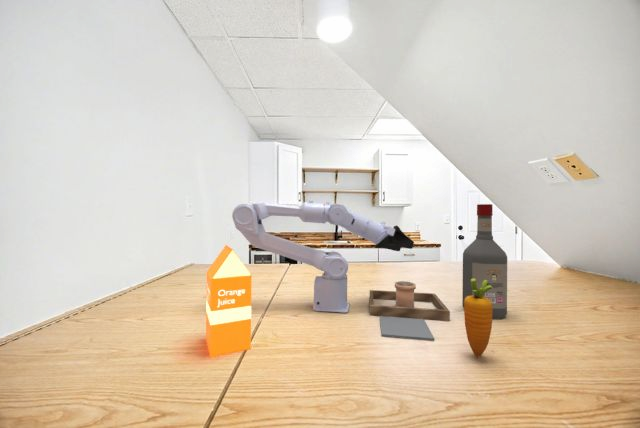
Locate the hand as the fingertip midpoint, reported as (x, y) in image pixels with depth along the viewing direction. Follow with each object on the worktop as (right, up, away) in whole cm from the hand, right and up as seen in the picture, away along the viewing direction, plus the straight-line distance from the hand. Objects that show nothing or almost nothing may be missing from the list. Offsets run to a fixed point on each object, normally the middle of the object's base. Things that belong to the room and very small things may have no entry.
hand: (406, 246), depth 80 cm
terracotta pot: (-1, -18, -1) cm, 18 cm away
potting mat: (-5, -17, -15) cm, 24 cm away
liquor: (+20, -18, -5) cm, 27 cm away
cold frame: (-1, -18, -1) cm, 18 cm away
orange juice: (-44, -17, -24) cm, 53 cm away
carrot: (+5, -18, -28) cm, 34 cm away
